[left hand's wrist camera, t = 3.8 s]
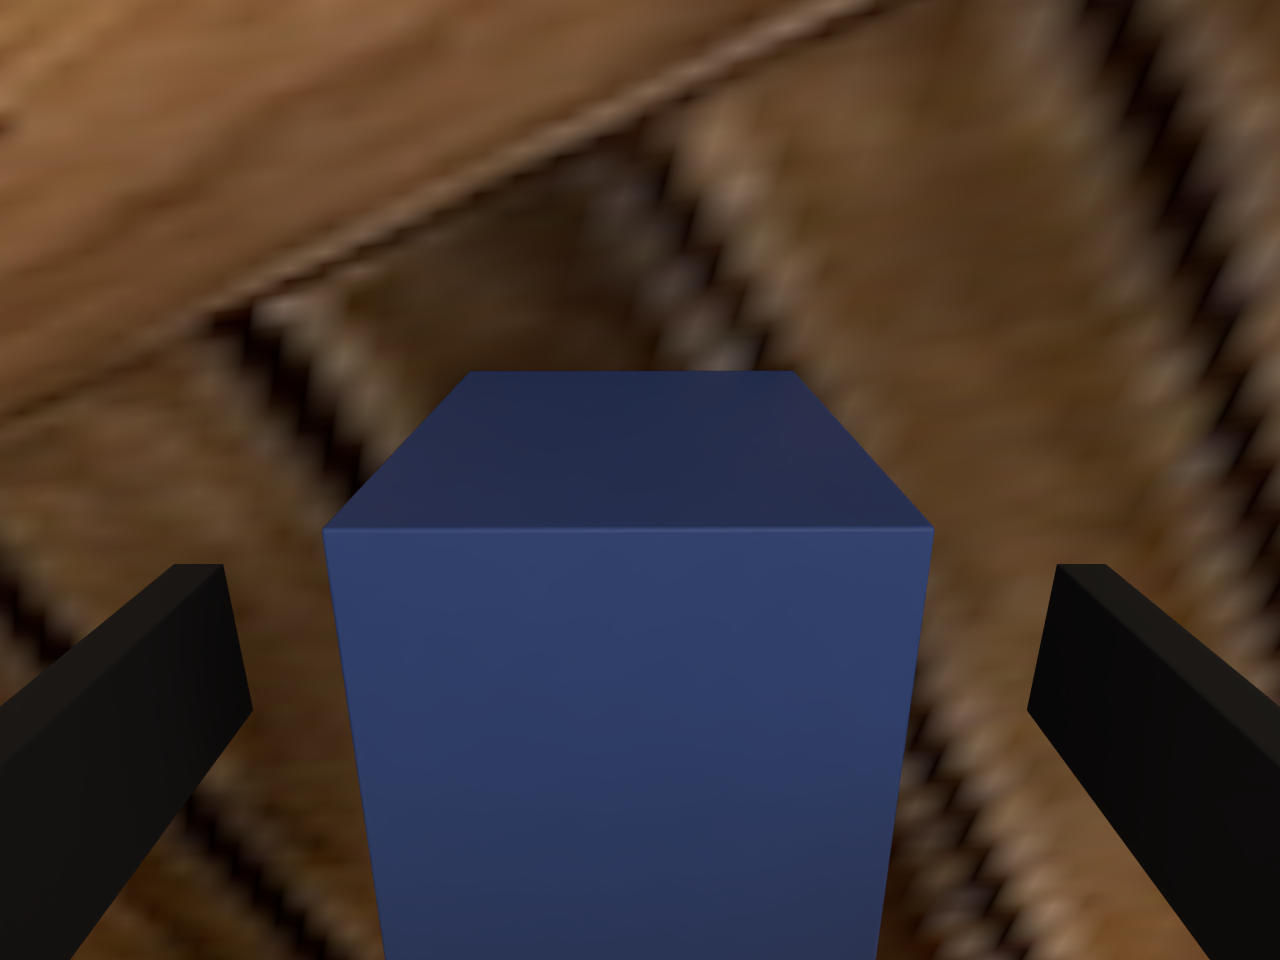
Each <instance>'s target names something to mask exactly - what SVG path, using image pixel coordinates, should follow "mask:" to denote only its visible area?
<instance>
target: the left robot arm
mask: <svg viewBox="0 0 1280 960" xmlns="http://www.w3.org/2000/svg"><path fill="white" fill-rule="evenodd" d="M252 711H253V707H252V702H251V698H250V693H249V688H248V683H247V678H246V673H245V668H244V664H243V659H242V654H241V649H240V644H239V639H238V635H237V630H236V625H235V620H234V615H233V610H232V605H231V601H230V596H229V591H228V586H227V581H226V576H225V571H224V567H223V564H174V565H173V566H171V567H170V568H169V569H168V570H167V571H165V572H164V573H163V574H162V575H160V576H159V577H158V578H157V579H156V580H154V581H153V582H152V583H151V584H149V585H148V586H147V587H146V588H145V589H143V590H142V591H141V592H140V593H138V594H137V595H136V596H135V597H134V598H132V599H131V600H130V601H129V602H127V603H126V604H125V605H124V606H123V607H121V608H120V609H119V610H118V611H116V612H115V613H114V614H113V615H112V616H110V617H109V618H108V619H107V620H105V621H104V622H103V623H102V624H101V625H99V626H98V627H97V628H96V629H94V630H93V631H92V632H91V633H90V634H88V635H87V636H86V637H85V638H84V639H82V640H81V641H80V642H79V643H77V644H76V645H75V646H74V647H73V648H71V649H70V650H69V651H68V652H66V653H65V654H64V655H63V656H62V657H60V658H59V659H58V660H57V661H55V662H54V663H53V664H52V665H51V666H49V667H48V668H47V669H46V670H44V671H43V672H42V673H41V674H40V675H38V676H37V677H36V678H35V679H33V680H32V681H31V682H30V683H29V684H27V685H26V686H25V687H24V688H22V689H21V690H20V691H19V692H18V693H16V694H15V695H14V696H13V697H11V698H10V699H9V700H8V701H7V702H5V703H4V704H3V705H2V706H0V960H70V959H71V958H72V956H73V955H74V954H75V952H76V951H77V950H78V948H79V947H80V946H81V944H82V943H83V941H84V940H85V939H86V937H87V936H88V935H89V933H90V932H91V931H92V929H93V928H94V926H95V925H96V924H97V922H98V921H99V920H100V918H101V917H102V916H103V914H104V913H105V911H106V910H107V909H108V907H109V906H110V905H111V903H112V902H113V901H114V899H115V898H116V896H117V895H118V894H119V892H120V891H121V890H122V888H123V887H124V886H125V884H126V883H127V881H128V880H129V879H130V877H131V876H132V875H133V873H134V872H135V871H136V869H137V868H138V866H139V865H140V864H141V862H142V861H143V860H144V858H145V857H146V856H147V854H148V853H149V851H150V850H151V849H152V847H153V846H154V845H155V843H156V842H157V841H158V839H159V838H160V836H161V835H162V834H163V832H164V831H165V830H166V828H167V827H168V826H169V824H170V823H171V821H172V820H173V819H174V817H175V816H176V815H177V813H178V812H179V811H180V809H181V808H182V806H183V805H184V804H185V802H186V801H187V800H188V798H189V797H190V796H191V794H192V793H193V791H194V790H195V789H196V787H197V786H198V785H199V783H200V782H201V781H202V779H203V778H204V776H205V775H206V774H207V772H208V771H209V770H210V768H211V767H212V766H213V764H214V763H215V762H216V760H217V759H218V757H219V756H220V755H221V753H222V752H223V751H224V749H225V748H226V747H227V745H228V744H229V742H230V741H231V740H232V738H233V737H234V736H235V734H236V733H237V732H238V730H239V729H240V727H241V726H242V725H243V723H244V722H245V721H246V719H247V718H248V717H249V715H250V714H251V712H252ZM1027 711H1028V712H1029V714H1030V715H1031V717H1032V718H1033V719H1034V721H1035V722H1036V723H1037V725H1038V726H1039V727H1040V729H1041V730H1042V732H1043V733H1044V734H1045V736H1046V737H1047V738H1048V740H1049V741H1050V742H1051V744H1052V745H1053V747H1054V748H1055V749H1056V751H1057V752H1058V753H1059V755H1060V756H1061V757H1062V759H1063V760H1064V762H1065V763H1066V764H1067V766H1068V767H1069V768H1070V770H1071V771H1072V772H1073V774H1074V775H1075V777H1076V778H1077V779H1078V781H1079V782H1080V783H1081V785H1082V786H1083V787H1084V789H1085V790H1086V791H1087V793H1088V794H1089V796H1090V797H1091V798H1092V800H1093V801H1094V802H1095V804H1096V805H1097V806H1098V808H1099V809H1100V811H1101V812H1102V813H1103V815H1104V816H1105V817H1106V819H1107V820H1108V821H1109V823H1110V824H1111V826H1112V827H1113V828H1114V830H1115V831H1116V832H1117V834H1118V835H1119V836H1120V838H1121V839H1122V841H1123V842H1124V843H1125V845H1126V846H1127V847H1128V849H1129V850H1130V851H1131V853H1132V854H1133V856H1134V857H1135V858H1136V860H1137V861H1138V862H1139V864H1140V865H1141V866H1142V868H1143V869H1144V871H1145V872H1146V873H1147V875H1148V876H1149V877H1150V879H1151V880H1152V881H1153V883H1154V884H1155V886H1156V887H1157V888H1158V890H1159V891H1160V892H1161V894H1162V895H1163V896H1164V898H1165V899H1166V901H1167V902H1168V903H1169V905H1170V906H1171V907H1172V909H1173V910H1174V911H1175V913H1176V914H1177V916H1178V917H1179V918H1180V920H1181V921H1182V922H1183V924H1184V925H1185V926H1186V928H1187V929H1188V931H1189V932H1190V933H1191V935H1192V936H1193V937H1194V939H1195V940H1196V941H1197V943H1198V944H1199V946H1200V947H1201V948H1202V950H1203V951H1204V952H1205V954H1206V955H1207V956H1208V958H1209V959H1210V960H1280V706H1278V705H1277V704H1276V703H1275V702H1273V701H1272V700H1271V699H1270V698H1269V697H1267V696H1266V695H1265V694H1264V693H1262V692H1261V691H1260V690H1259V689H1258V688H1256V687H1255V686H1254V685H1253V684H1251V683H1250V682H1249V681H1248V680H1247V679H1245V678H1244V677H1243V676H1242V675H1240V674H1239V673H1238V672H1237V671H1236V670H1234V669H1233V668H1232V667H1231V666H1229V665H1228V664H1227V663H1226V662H1225V661H1223V660H1222V659H1221V658H1220V657H1218V656H1217V655H1216V654H1215V653H1214V652H1212V651H1211V650H1210V649H1209V648H1207V647H1206V646H1205V645H1204V644H1203V643H1201V642H1200V641H1199V640H1198V639H1196V638H1195V637H1194V636H1193V635H1192V634H1190V633H1189V632H1188V631H1187V630H1186V629H1184V628H1183V627H1182V626H1181V625H1179V624H1178V623H1177V622H1176V621H1175V620H1173V619H1172V618H1171V617H1170V616H1168V615H1167V614H1166V613H1165V612H1164V611H1162V610H1161V609H1160V608H1159V607H1157V606H1156V605H1155V604H1154V603H1153V602H1151V601H1150V600H1149V599H1148V598H1146V597H1145V596H1144V595H1143V594H1142V593H1140V592H1139V591H1138V590H1137V589H1135V588H1134V587H1133V586H1132V585H1131V584H1129V583H1128V582H1127V581H1126V580H1124V579H1123V578H1122V577H1121V576H1120V575H1118V574H1117V573H1116V572H1115V571H1113V570H1112V569H1111V568H1110V567H1109V566H1107V565H1106V564H1057V567H1056V571H1055V576H1054V581H1053V586H1052V591H1051V596H1050V601H1049V605H1048V610H1047V615H1046V620H1045V625H1044V630H1043V635H1042V639H1041V644H1040V649H1039V654H1038V659H1037V664H1036V668H1035V673H1034V678H1033V683H1032V688H1031V693H1030V698H1029V702H1028V707H1027Z"/></svg>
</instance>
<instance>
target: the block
mask: <svg viewBox="0 0 1280 960" xmlns="http://www.w3.org/2000/svg"><path fill="white" fill-rule="evenodd" d="M322 536H323V543H324V550H325V556H326V563H327V570H328V576H329V583H330V590H331V597H332V603H333V610H334V617H335V624H336V630H337V637H338V644H339V651H340V657H341V664H342V671H343V678H344V684H345V691H346V698H347V705H348V711H349V718H350V725H351V732H352V738H353V745H354V752H355V759H356V765H357V772H358V779H359V786H360V792H361V799H362V806H363V813H364V819H365V826H366V833H367V840H368V846H369V853H370V860H371V867H372V873H373V880H374V887H375V894H376V900H377V907H378V914H379V921H380V927H381V934H382V941H383V948H384V954H385V960H876V953H877V946H878V938H879V931H880V924H881V916H882V909H883V902H884V895H885V887H886V880H887V873H888V865H889V858H890V851H891V843H892V836H893V829H894V822H895V814H896V807H897V800H898V792H899V785H900V778H901V770H902V763H903V756H904V749H905V741H906V734H907V727H908V719H909V712H910V705H911V697H912V690H913V683H914V676H915V668H916V661H917V654H918V646H919V639H920V632H921V624H922V617H923V610H924V603H925V595H926V588H927V581H928V573H929V566H930V559H931V551H932V544H933V537H934V527H933V526H932V525H931V524H930V522H929V521H928V520H927V519H926V518H925V517H924V516H923V515H922V514H921V512H920V511H919V510H918V509H917V508H916V507H915V506H914V505H913V504H912V502H911V501H910V500H909V499H908V498H907V497H906V496H905V495H904V494H903V492H902V491H901V490H900V489H899V488H898V487H897V486H896V485H895V484H894V482H893V481H892V480H891V479H890V478H889V477H888V476H887V475H886V474H885V472H884V471H883V470H882V469H881V468H880V467H879V466H878V465H877V464H876V463H875V461H874V460H873V459H872V458H871V457H870V456H869V455H868V454H867V453H866V451H865V450H864V449H863V448H862V447H861V446H860V445H859V444H858V443H857V441H856V440H855V439H854V438H853V437H852V436H851V435H850V434H849V433H848V431H847V430H846V429H845V428H844V427H843V426H842V425H841V424H840V423H839V421H838V420H837V419H836V418H835V417H834V416H833V415H832V414H831V413H830V411H829V410H828V409H827V408H826V407H825V406H824V405H823V404H822V403H821V401H820V400H819V399H818V398H817V397H816V396H815V395H814V394H813V393H812V392H811V390H810V389H809V388H808V387H807V386H806V385H805V384H804V383H803V382H802V380H801V379H800V378H799V377H798V376H797V375H796V374H795V373H794V372H793V371H471V372H469V373H468V374H467V375H466V376H465V377H464V378H463V379H462V380H461V381H460V382H459V384H458V385H457V386H456V387H455V388H454V389H453V390H452V391H451V392H450V393H449V394H448V395H447V396H446V397H445V398H444V400H443V401H442V402H441V403H440V404H439V405H438V406H437V407H436V408H435V409H434V410H433V411H432V412H431V413H430V414H429V416H428V417H427V418H426V419H425V420H424V421H423V422H422V423H421V424H420V425H419V426H418V427H417V428H416V429H415V431H414V432H413V433H412V434H411V435H410V436H409V437H408V438H407V439H406V440H405V441H404V442H403V443H402V444H401V445H400V447H399V448H398V449H397V450H396V451H395V452H394V453H393V454H392V455H391V456H390V457H389V458H388V459H387V460H386V461H385V463H384V464H383V465H382V466H381V467H380V468H379V469H378V470H377V471H376V472H375V473H374V474H373V475H372V476H371V477H370V479H369V480H368V481H367V482H366V483H365V484H364V485H363V486H362V487H361V488H360V489H359V490H358V491H357V492H356V493H355V495H354V496H353V497H352V498H351V499H350V500H349V501H348V502H347V503H346V504H345V505H344V506H343V507H342V508H341V509H340V511H339V512H338V513H337V514H336V515H335V516H334V517H333V518H332V519H331V520H330V521H329V522H328V523H327V524H326V526H325V527H324V528H323V530H322Z"/></svg>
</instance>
